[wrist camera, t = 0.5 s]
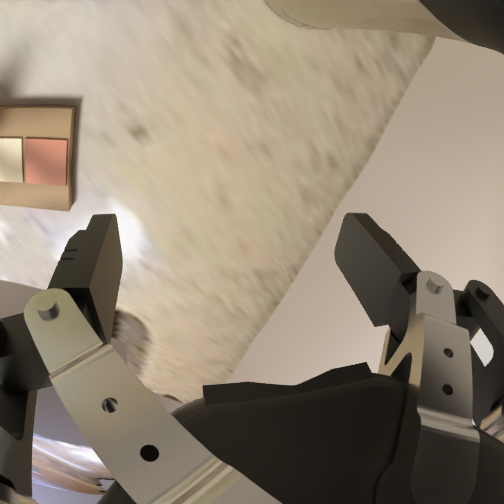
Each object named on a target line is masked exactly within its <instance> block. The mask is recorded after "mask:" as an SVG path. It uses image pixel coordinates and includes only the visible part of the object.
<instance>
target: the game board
mask: <svg viewBox="0 0 504 504" xmlns="http://www.w3.org/2000/svg"><path fill="white" fill-rule="evenodd" d="M75 109H76V106H49V105H24V106H0V205H7V206H18V207H29V208H39V209H49V210H59V211H70V209H71V207H72V149H73V132H74V120H75Z"/></svg>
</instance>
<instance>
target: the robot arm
mask: <svg viewBox="0 0 504 504" xmlns="http://www.w3.org/2000/svg"><path fill="white" fill-rule="evenodd" d="M265 2H266V3H267V5H268V6H269V7H270V8H271V9H272V10H273V11H274V12H275V13H276V14H277V15H279V16H280V17H282V18H283V19H285V20H286V21H288V22H291V23H293V24H295V25H298V26H302V27H305V28H314V29H370V30H386V31H397V32H407V33H415V34H422V35H429V36H435V37H442V38H447V39H453V40H457V41H462V42H467V43H471V44H475V45H478V46H482V47H486V48H489V49H493V50H495V51H498V52H500V53H502V54H504V0H265ZM335 261H336V264H337V265H338V267H339V268H340V270H341V272H342V273H343V275H344V277H345V278H346V280H347V281H348V283H349V285H350V286H351V288H352V290H353V291H354V293H355V295H356V296H357V298H358V299H359V301H360V303H361V304H362V306H363V308H364V309H365V311H366V313H367V314H368V316H369V318H370V320H371V321H372V323H373V325H374V326H375V327H377V326H382V325H389V327H390V328H389V329H388V331H387V333H386V336H385V341H384V346H383V351H382V356H381V361H380V365H379V370H378V373H372V372H371V370H370V368H369V366H368V364H367V362H364V363H359V364H355V365H350V366H345V367H340V368H335V369H331V370H329V371H327V372H325V373H323V374H321V375H319V376H316V377H314V378H312V379H310V380H307V381H305V382H303V383H301V384H298V385H292V386H290V385H277V384H265V383H255V382H240V383H230V384H217V385H203V398H200V399H197V400H194V401H192V402H189V403H187V404H185V405H183V406H181V407H180V408H178V409H176V410H175V411H173V412H172V413H171V414H170V413H169V412H168V411H167V410H166V409H165V408H164V407H163V405H162V404H161V403H160V402H159V401H158V400H157V399H156V398H155V397H154V396H153V395H152V394H151V392H150V391H149V390H148V389H147V388H146V387H145V386H144V385H143V383H142V382H141V381H140V380H139V379H138V378H137V376H136V375H135V374H134V373H133V372H132V371H131V369H130V368H129V367H128V366H127V364H126V363H125V362H124V361H123V360H122V358H121V357H120V356H119V355H118V353H117V352H116V351H115V350H114V348H113V347H112V346H111V345H110V341H111V334H112V327H113V320H114V314H115V307H116V302H117V296H118V290H119V285H120V279H121V274H122V266H123V260H122V250H121V244H120V238H119V231H118V223H117V218H116V215H115V214H97V215H93V216H92V218H91V220H90V222H89V225H88V227H87V229H86V230H79V231H78V232H77V233H75V234H74V235H73V236H72V237H71V238H70V239H69V241H68V243H67V245H66V247H65V249H64V252H63V253H62V256H61V258H60V260H59V262H58V265H57V267H56V269H55V272H54V274H53V276H52V279H51V281H50V283H49V286H48V288H47V290H43V291H41V292H39V293H37V294H36V295H34V296H33V297H32V298H31V299H30V300H29V301H28V303H27V305H26V307H25V310H24V313H21V314H17V315H14V316H10V317H6V318H2V319H0V504H39V503H38V502H36V500H34V499H33V498H32V441H33V426H34V415H35V406H36V398H37V390H38V389H41V388H45V387H49V386H54V387H55V390H56V391H57V393H58V395H59V397H60V399H61V400H62V402H63V404H64V405H65V407H66V409H67V410H68V412H69V414H70V415H71V417H72V419H73V420H74V422H75V423H76V425H77V427H78V428H79V430H80V431H81V433H82V434H83V435H84V437H85V439H86V440H87V442H88V443H89V444H90V446H91V447H92V449H93V450H94V452H95V453H96V454H97V456H98V457H99V458H100V460H101V461H102V462H103V464H104V465H105V466H106V468H107V469H108V470H109V471H110V473H111V474H112V475H113V476H114V478H115V479H116V480H115V481H114V483H113V484H112V485H111V486H110V488H109V489H108V490H107V491H106V493H105V494H104V495H103V496H102V498H101V499H100V500H99V501H98V503H97V504H504V305H503V303H502V302H501V301H500V300H499V298H498V297H497V296H496V295H495V293H494V292H493V291H492V290H491V289H490V288H489V287H488V286H487V285H485V284H484V283H482V282H480V281H477V280H470V281H469V282H468V284H467V286H466V288H465V289H464V291H459V290H453V289H452V287H451V285H450V284H449V282H448V281H447V280H446V279H445V278H443V277H442V276H440V275H439V274H437V273H434V272H431V271H421V270H420V269H419V267H418V266H417V265H416V264H415V263H414V262H413V261H412V259H411V258H410V257H409V256H408V255H407V254H406V252H405V251H402V248H401V247H400V246H399V245H398V244H396V241H395V240H394V239H393V238H392V237H391V236H390V234H388V233H387V232H386V231H384V230H382V229H381V228H380V227H379V226H378V225H377V224H376V222H375V221H374V220H373V219H372V218H371V217H370V216H369V215H368V214H366V213H347V214H346V215H345V217H344V219H343V223H342V226H341V230H340V233H339V237H338V240H337V243H336V247H335ZM480 328H481V329H482V331H483V332H484V334H485V335H486V337H487V338H488V340H489V341H490V343H491V344H492V346H493V350H494V354H493V358H492V360H491V361H490V362H489V364H487V365H486V367H484V365H483V363H482V361H481V360H480V358H479V357H478V355H477V353H476V352H475V350H474V348H473V347H472V345H471V344H470V341H471V340H472V338H473V337H474V335H475V334H476V333H477V332H478V330H479V329H480ZM472 418H473V420H474V422H475V425H476V426H475V425H473V424H472Z"/></svg>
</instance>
